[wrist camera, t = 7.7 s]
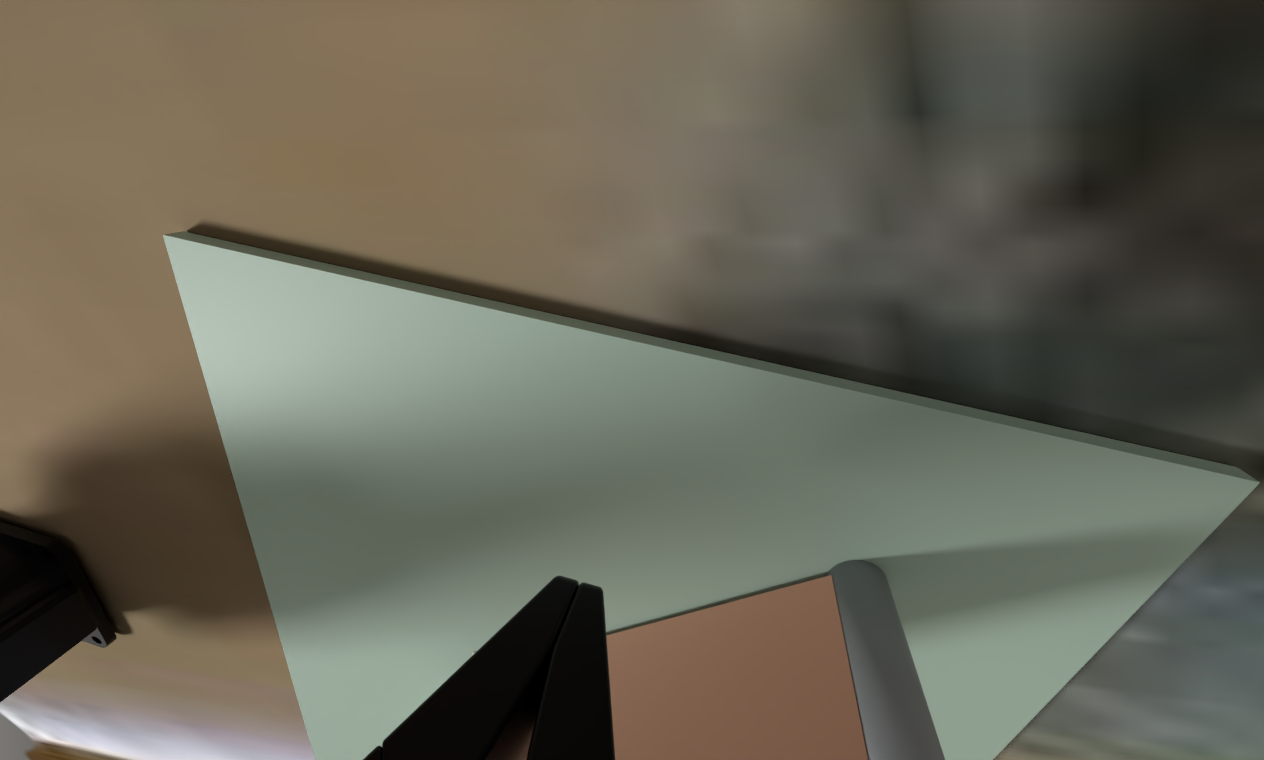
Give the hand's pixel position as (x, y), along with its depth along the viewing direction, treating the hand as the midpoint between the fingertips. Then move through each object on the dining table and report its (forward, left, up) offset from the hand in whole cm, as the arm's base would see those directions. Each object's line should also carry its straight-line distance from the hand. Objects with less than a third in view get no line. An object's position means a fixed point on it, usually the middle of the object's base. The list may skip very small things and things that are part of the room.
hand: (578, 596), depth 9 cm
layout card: (0, -9, -4) cm, 10 cm away
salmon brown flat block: (+2, -5, -4) cm, 7 cm away
